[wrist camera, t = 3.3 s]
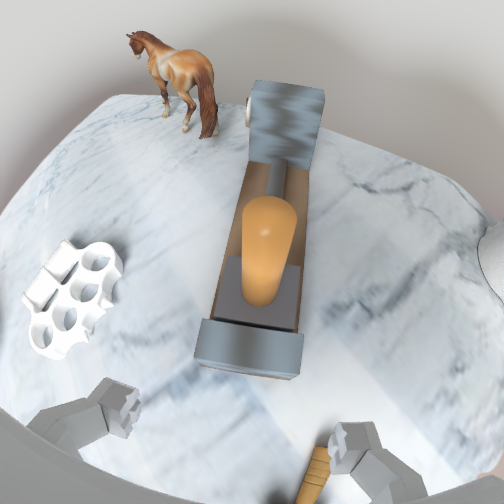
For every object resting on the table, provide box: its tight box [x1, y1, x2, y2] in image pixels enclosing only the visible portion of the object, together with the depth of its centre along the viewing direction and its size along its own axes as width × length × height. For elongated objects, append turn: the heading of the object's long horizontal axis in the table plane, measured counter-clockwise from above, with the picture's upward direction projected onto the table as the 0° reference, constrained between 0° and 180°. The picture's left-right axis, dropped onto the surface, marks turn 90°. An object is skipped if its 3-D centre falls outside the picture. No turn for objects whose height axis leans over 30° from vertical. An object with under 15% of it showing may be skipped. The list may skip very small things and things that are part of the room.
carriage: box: [213, 196, 301, 333], centre depth 25 cm, size 8×7×14 cm
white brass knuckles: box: [21, 239, 124, 359], centre depth 32 cm, size 3×18×15 cm
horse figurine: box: [127, 31, 219, 139], centre depth 45 cm, size 31×8×21 cm, turn 40°
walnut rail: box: [194, 80, 325, 380], centre depth 33 cm, size 11×36×15 cm, turn 171°
